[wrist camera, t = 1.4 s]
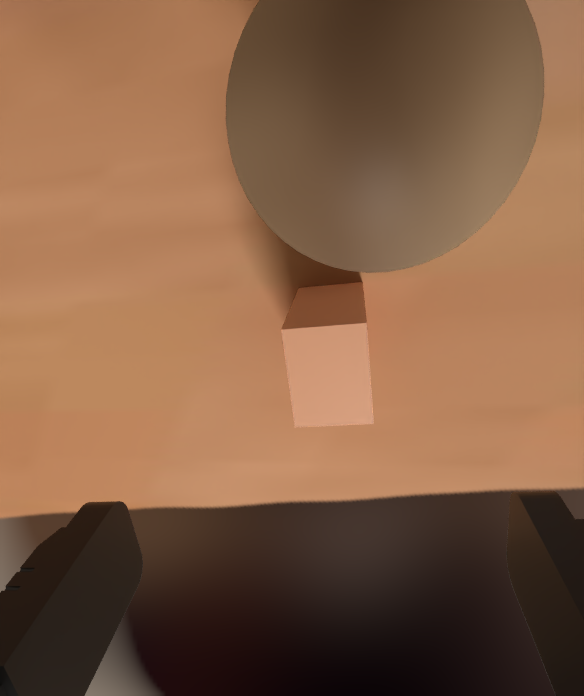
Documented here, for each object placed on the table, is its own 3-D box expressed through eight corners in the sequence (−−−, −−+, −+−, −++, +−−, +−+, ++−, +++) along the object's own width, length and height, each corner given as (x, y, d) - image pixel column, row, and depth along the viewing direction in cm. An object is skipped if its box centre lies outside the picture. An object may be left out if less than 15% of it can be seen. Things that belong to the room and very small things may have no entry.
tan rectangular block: (362, 281, 21) (366, 323, 16) (368, 360, 23) (373, 423, 17) (298, 287, 22) (281, 329, 16) (308, 365, 23) (294, 427, 18)
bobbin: (452, 25, 17) (557, -116, 9) (452, 216, 20) (534, 257, 11) (270, 57, 18) (199, -41, 10) (292, 234, 21) (250, 285, 12)
